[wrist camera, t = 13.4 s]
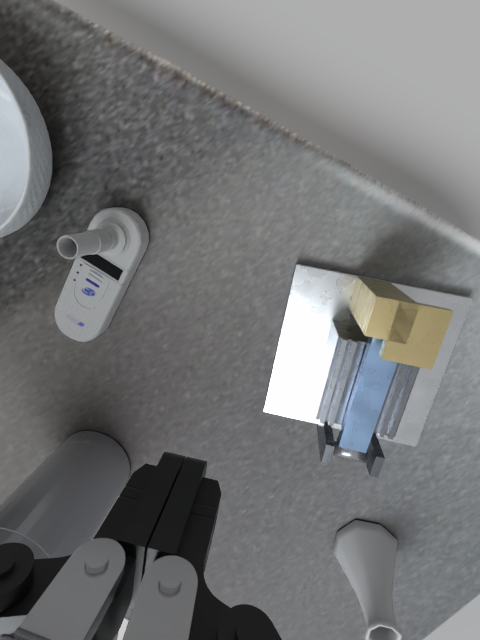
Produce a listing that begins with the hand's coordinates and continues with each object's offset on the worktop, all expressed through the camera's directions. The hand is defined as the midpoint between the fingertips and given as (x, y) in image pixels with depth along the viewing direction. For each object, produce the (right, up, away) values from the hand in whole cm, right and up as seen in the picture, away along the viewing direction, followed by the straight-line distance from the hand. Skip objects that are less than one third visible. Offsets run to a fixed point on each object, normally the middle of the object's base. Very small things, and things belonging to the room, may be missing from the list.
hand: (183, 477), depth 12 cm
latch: (+15, +7, +21) cm, 27 cm away
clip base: (+14, +2, +24) cm, 28 cm away
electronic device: (-12, +10, +26) cm, 30 cm away
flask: (+17, -21, +31) cm, 41 cm away
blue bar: (+13, -1, +19) cm, 22 cm away
